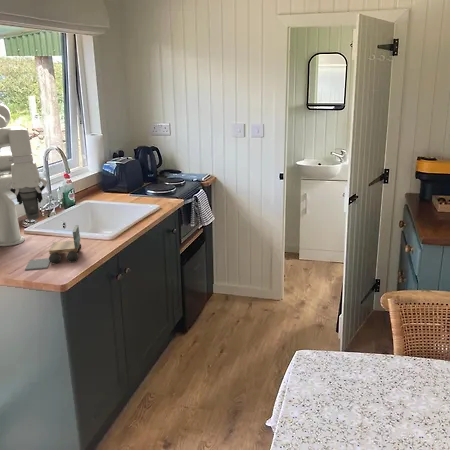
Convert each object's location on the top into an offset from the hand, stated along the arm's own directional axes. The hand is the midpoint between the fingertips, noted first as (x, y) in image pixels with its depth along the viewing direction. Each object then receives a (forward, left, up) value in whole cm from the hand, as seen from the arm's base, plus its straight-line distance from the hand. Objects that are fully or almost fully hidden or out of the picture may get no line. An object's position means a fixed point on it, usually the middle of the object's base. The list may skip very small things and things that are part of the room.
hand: (30, 202), depth 203 cm
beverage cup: (0, 0, -7) cm, 7 cm away
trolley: (+11, -2, -24) cm, 27 cm away
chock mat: (+1, -8, -24) cm, 26 cm away
